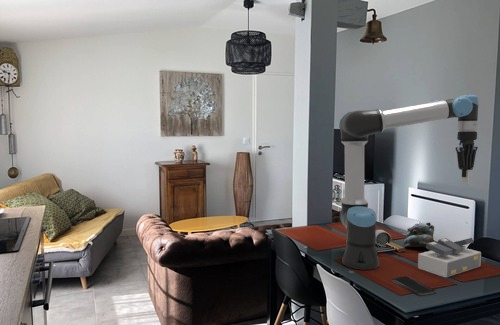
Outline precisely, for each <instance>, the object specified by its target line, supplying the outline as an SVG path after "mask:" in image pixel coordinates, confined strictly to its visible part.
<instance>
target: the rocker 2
mask: <svg viewBox="0 0 500 325" xmlns="http://www.w3.org/2000/svg"><path fill="white" fill-rule="evenodd" d="M454 242H455V241H452V240H450V239H448V238H446V237H443V238H440V239H438V240H437V243H439V244H441V245H443V246H446V247H448V248H450V249H452V253H454V254H457V253H461V252H462V251H463V247H461V246H459V245H458V244H456V243H454Z"/></svg>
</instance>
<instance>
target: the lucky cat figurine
mask: <svg viewBox="0 0 500 325" xmlns="http://www.w3.org/2000/svg"><path fill="white" fill-rule="evenodd" d="M406 230H407V233H406V238H405V239H404V241H403V246H404V247H405V248H425V249H427V248H426V245H427V243H430V242H435V240H434V233H435V226H434V225H433V224H432V223H431V222H426V223H423V222H419V223H414V225H412V226H411V227H408V228H407V229H406Z"/></svg>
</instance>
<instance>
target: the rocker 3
mask: <svg viewBox="0 0 500 325" xmlns="http://www.w3.org/2000/svg"><path fill="white" fill-rule="evenodd" d="M453 242H454V243H456V244H458V245H459V246H465V245H469V244H473V243H474V242H475V241H474V240H473V237H469V238H465V239H462V240H457V241H453Z"/></svg>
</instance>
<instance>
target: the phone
mask: <svg viewBox="0 0 500 325" xmlns="http://www.w3.org/2000/svg"><path fill="white" fill-rule="evenodd" d="M391 282H392V283H394V284H396V285H398V286H400V287H401V288H403V289H404V290H407V291H409V292H411V293H412V294H413V295H414V294H415V295H416V296H418V297H423V296H424V297H425V296H430V295H435V294H436V293H437V290H435V289H434V288H432V287H430V286H428V285H426V284H425V283H422V282H420V281H418V280H416V279H414V278H412V277H410V276H406V275H404V276H398V277H392V278H391Z"/></svg>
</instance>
